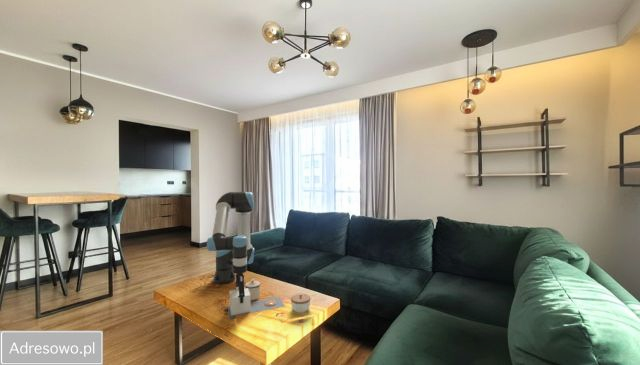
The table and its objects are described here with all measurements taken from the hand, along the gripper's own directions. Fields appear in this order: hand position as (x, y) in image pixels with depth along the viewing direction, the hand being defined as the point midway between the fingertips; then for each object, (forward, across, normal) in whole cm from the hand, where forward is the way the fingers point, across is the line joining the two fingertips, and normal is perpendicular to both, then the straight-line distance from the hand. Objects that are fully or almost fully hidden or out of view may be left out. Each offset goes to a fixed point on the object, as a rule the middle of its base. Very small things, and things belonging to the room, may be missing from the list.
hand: (239, 303), depth 145 cm
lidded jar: (+5, +13, +31) cm, 34 cm away
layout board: (+5, 0, +9) cm, 10 cm away
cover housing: (+3, 0, 0) cm, 3 cm away
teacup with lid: (+5, -14, +8) cm, 17 cm away
